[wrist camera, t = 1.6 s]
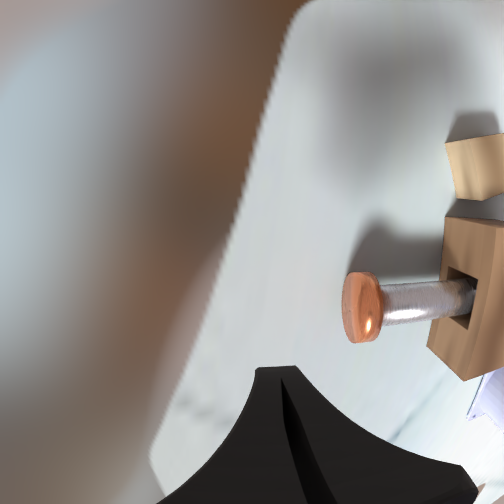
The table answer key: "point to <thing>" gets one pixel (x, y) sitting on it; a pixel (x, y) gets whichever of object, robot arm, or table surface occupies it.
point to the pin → (400, 303)
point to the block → (477, 166)
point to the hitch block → (486, 299)
